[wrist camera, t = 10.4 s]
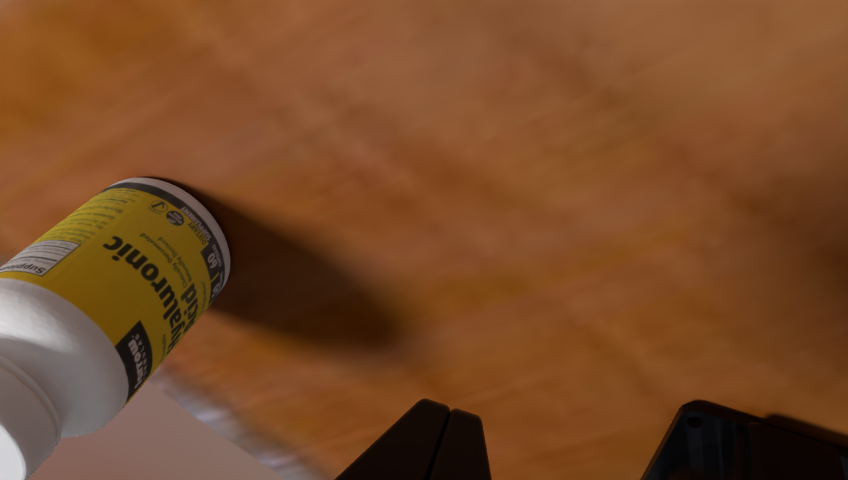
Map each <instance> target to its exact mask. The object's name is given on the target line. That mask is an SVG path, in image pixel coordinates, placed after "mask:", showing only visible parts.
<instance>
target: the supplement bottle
mask: <svg viewBox="0 0 848 480" xmlns="http://www.w3.org/2000/svg"><path fill="white" fill-rule="evenodd" d="M229 272H230V253H229V248H228V245H227V242H226V239H225V236H224V234H223V232H222V230H221V228H220V227H219V225H218V223H217V222H216V221H215V219H214V218H213V216H212V215H211V214H210V213H209V211H208V210H207V209H206V208H205V207H204V206H203V205H202V204H201V203H199V202H198V201H197V200H196V199H195V198H194V197H192V196H191V195H190V194H188V193H187V192H185V191H184V190H182V189H181V188H179V187H177V186H175V185H172V184H170V183H167V182H164V181H161V180H158V179H152V178H142V177H141V178H129V179H125V180H122V181H119V182H117V183H114V184H113V185H111V186H109V187H108V188H106V189H104V190H103V191H101V192H100V193H99V194H97V195H96V196H95V197H94V198H92V199H91V200H89V201H88V202H87V203H85V204H84V205H83V206H81V207H80V208H79V209H77V210H76V211H75V212H73V213H72V214H71V215H69V216H68V217H67V218H65V219H64V220H63V221H61V222H60V223H59V224H57V225H56V226H55V227H53V228H52V229H51V230H49V231H48V232H47V233H45V234H44V235H43V236H41V237H40V238H39V239H37V240H36V241H35V242H34V243H32V244H31V245H30V246H28V247H27V248H25V249H24V250H23V251H22V252H20V253H19V254H18V255H16V256H15V257H14V258H12V259H11V260H10V261H8V262H7V263H6V264H4V265H3V266H1V267H0V480H27V479H28V478H29V477H30V476H31V475H32V474H33V473H34V472H35V470H37V468H38V467H39V466H40V465H41V464H42V463H43V462H44V461H45V460H46V459H47V458H48V457H49V456H50V455H51V454H52V452H53V451H54V449H55V447H56V446H57V445H58V443H59V441H60V439H61V437H75V436H81V435H85V434H89V433H92V432H94V431H97V430H99V429H100V428H102V427H103V426H105V425H106V424H107V423H108V422H109V421H111V420H112V419H113V418H114V417H115V416H116V415H117V414H118V413H119V412H120V411H121V410H122V408H124V406H125V405H126V404H127V403H128V402H129V401H130V399H131V398H132V397H133V396H134V395H135V393H136V392H137V391H138V390H139V389H140V388H141V387H142V385H143V384H144V383H145V382H146V381H147V379H148V378H149V377H150V376H151V375H152V373H153V372H154V371H155V370H156V369H157V367H158V366H159V365H160V364H161V363H162V361H163V360H164V359H165V358H166V357H167V356H168V354H169V353H170V352H171V351H172V350H173V349H174V347H175V346H176V345H177V344H178V343H179V341H180V340H181V339H182V338H183V337H184V335H185V334H186V333H187V332H188V331H189V329H190V328H191V327H192V326H193V325H194V323H195V322H196V321H197V320H198V319H199V317H200V316H201V315H202V314H203V313H204V312H205V310H206V309H207V308H208V307H209V306H210V304H211V303H212V302H213V301H214V300H215V299H216V297H217V296H218V294H219V293H220V291H221V290H222V289H223V287H224V285H225V284H226V281H227V279H228V276H229Z"/></svg>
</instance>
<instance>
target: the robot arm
mask: <svg viewBox="0 0 848 480" xmlns="http://www.w3.org/2000/svg"><path fill="white" fill-rule="evenodd" d="M690 417H699V419H691V418H690ZM335 480H492V479H491V473H490V467H489V461H488V455H487V449H486V443H485V437H484V431H483V425H482V421H481V418H480V417H479V416H477V415H475V414H472V413H469V412H466V411H463V410H460V409H453V410H451V412H450V408H449V407H448V406H447V405H445V404H442V403H438V402H435V401H432V400H429V399H421V400H420V401H418V402H417V403H416V404H415V405H414V406H413V407H412V408H411V409H410V410H408V411H407V412H406V413H405V414H404V415H403V416H402V417H401V418H400V419H399V420H398V421H397V422H396V423H395V424H394V425H392V426H391V427H390V428H389V429H388V430H387V431H386V432H385V433H384V434H383V435H382V436H381V437H380V438H379V439H377V440H376V441H375V442H374V443H373V444H372V445H371V446H370V447H369V448H368V449H367V450H366V451H365V452H364V453H362V454H361V455H360V456H359V457H358V458H357V459H356V460H355V461H354V462H353V463H352V464H351V465H350V466H349V467H347V468H346V469H345V470H344V471H343V472H342V473H341V474H340V475H339V476H338V477H337V478H336V479H335ZM641 480H848V449H845V448H842V447H839V446H835V445H832V444H829V443H826V442H823V441H819V440H816V439H813V438H810V437H807V436H803V435H800V434H797V433H794V432H791V431H787V430H784V429H781V428H778V427H775V426H771V425H768V424H765V423H762V422H759V421H755V420H752V419H749V418H746V417H743V416H739V415H736V414H733V413H730V412H727V411H723V410H720V409H717V408H714V407H711V406H707V405H704V404H701V403H696V402H691V403H686V404H684V405H682V406H681V407H680V408H679V410H678V412H677V414H676V416H675V418H674V419H673V421H672V423H671V425H670V427H669V428H668V430H667V432H666V434H665V436H664V438H663V439H662V441H661V443H660V445H659V447H658V449H657V450H656V452H655V454H654V456H653V458H652V459H651V461H650V463H649V465H648V467H647V469H646V470H645V472H644V474H643V476H642V478H641Z"/></svg>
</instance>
